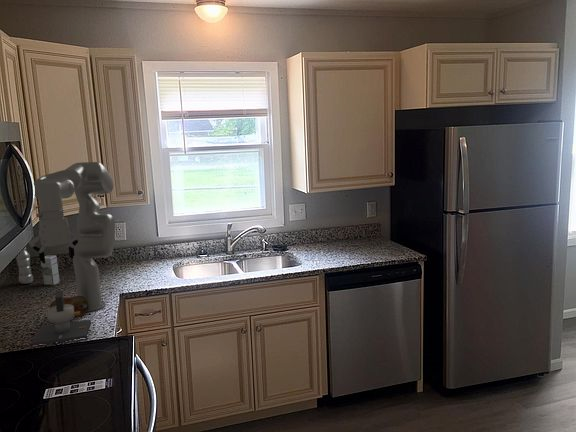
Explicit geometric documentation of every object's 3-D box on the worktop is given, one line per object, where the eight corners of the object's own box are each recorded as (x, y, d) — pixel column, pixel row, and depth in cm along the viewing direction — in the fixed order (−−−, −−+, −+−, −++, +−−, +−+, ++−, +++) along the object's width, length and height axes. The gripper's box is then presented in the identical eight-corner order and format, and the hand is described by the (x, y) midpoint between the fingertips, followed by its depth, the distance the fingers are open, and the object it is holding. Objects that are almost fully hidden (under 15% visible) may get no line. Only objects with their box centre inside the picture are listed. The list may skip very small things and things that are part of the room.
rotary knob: (47, 324, 179) (44, 299, 178) (49, 316, 187) (46, 292, 186) (80, 319, 183) (77, 294, 182) (80, 311, 192) (77, 288, 190)
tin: (50, 320, 201) (47, 300, 200) (51, 317, 204) (49, 298, 203) (89, 315, 206) (87, 296, 204) (90, 313, 209) (88, 294, 207)
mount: (41, 329, 192) (39, 314, 191) (91, 323, 197) (89, 308, 196) (32, 346, 175) (30, 330, 175) (86, 339, 180) (85, 323, 180)
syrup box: (60, 281, 257) (57, 254, 255) (53, 285, 251) (50, 257, 249) (49, 282, 258) (46, 255, 255) (43, 285, 252) (39, 257, 250)
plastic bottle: (27, 285, 253) (23, 247, 250) (16, 285, 254) (11, 247, 251) (36, 281, 259) (31, 244, 256) (25, 281, 260) (20, 244, 257)
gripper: (27, 219, 171) (33, 266, 174) (79, 213, 181) (84, 258, 184) (24, 216, 177) (30, 262, 180) (74, 210, 187) (79, 254, 190)
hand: (57, 260), depth 182 cm, fingers open, 9 cm apart
